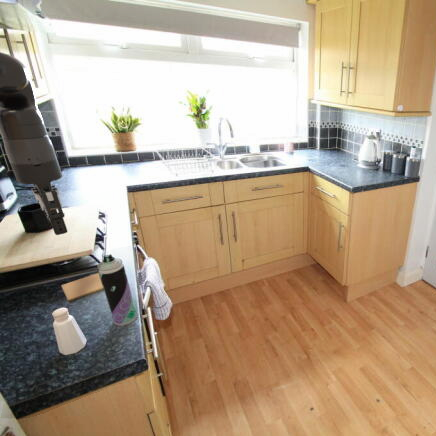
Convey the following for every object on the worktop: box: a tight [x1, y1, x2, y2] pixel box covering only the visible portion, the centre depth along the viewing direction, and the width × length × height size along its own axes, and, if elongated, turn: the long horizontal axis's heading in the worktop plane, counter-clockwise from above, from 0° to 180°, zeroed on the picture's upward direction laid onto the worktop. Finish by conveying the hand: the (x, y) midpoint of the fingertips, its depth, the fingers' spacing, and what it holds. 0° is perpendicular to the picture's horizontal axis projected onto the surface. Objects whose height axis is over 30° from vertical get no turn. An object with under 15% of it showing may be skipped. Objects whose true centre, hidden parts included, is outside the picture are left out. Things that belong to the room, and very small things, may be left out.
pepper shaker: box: [51, 307, 88, 356], centre depth 75 cm, size 5×5×11 cm
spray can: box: [97, 253, 138, 327], centre depth 83 cm, size 6×6×20 cm
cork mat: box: [60, 272, 104, 302], centre depth 98 cm, size 12×10×1 cm
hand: (57, 227), depth 74 cm, fingers open, 8 cm apart
